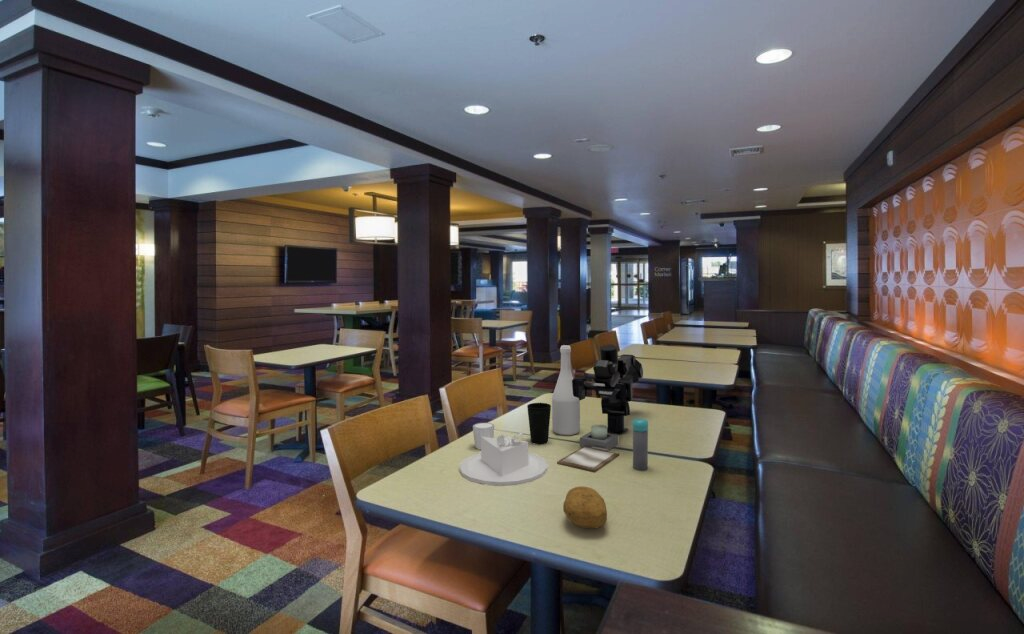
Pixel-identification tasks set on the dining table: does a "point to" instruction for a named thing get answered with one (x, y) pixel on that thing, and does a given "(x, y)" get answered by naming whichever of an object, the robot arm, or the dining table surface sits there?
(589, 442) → the button housing
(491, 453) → the dish
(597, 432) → the button
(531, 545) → the dining table surface
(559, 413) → the wine bottle
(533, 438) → the cup
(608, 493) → the dining table surface
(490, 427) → the shot glass
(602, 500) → the potato
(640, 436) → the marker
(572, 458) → the clipboard
